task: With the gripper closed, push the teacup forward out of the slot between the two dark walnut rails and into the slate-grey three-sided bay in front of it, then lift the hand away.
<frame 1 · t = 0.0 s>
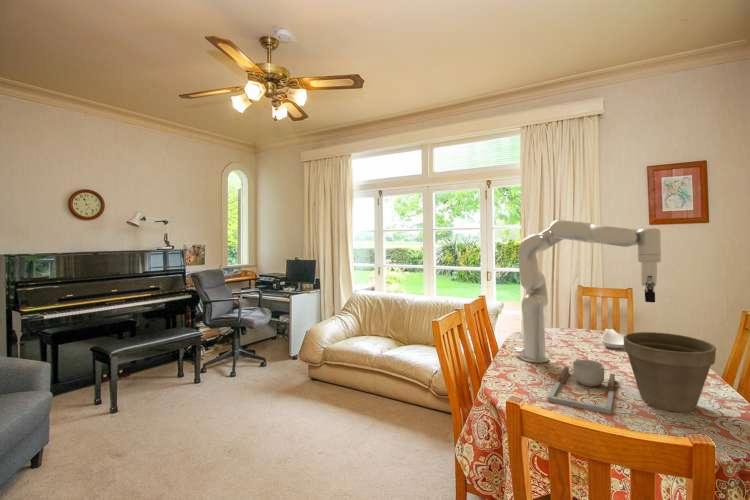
hand: (649, 300, 152), 31 cm above the table, tool pointing down, fingers open, 9 cm apart
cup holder: (586, 381, 148), on the table
plant pot: (667, 404, 127), on the table
teacup: (586, 382, 148), on the table
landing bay: (581, 398, 133), on the table
white sneaker: (611, 345, 199), on the table
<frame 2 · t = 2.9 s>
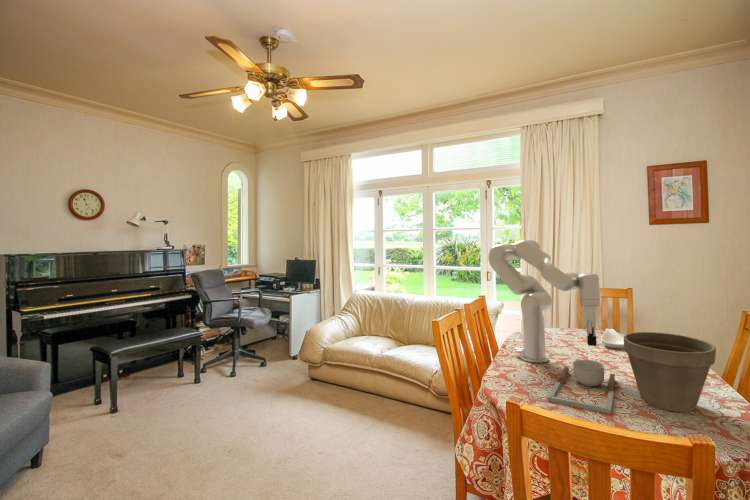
hand: (592, 345, 159), 12 cm above the table, tool pointing down, fingers closed
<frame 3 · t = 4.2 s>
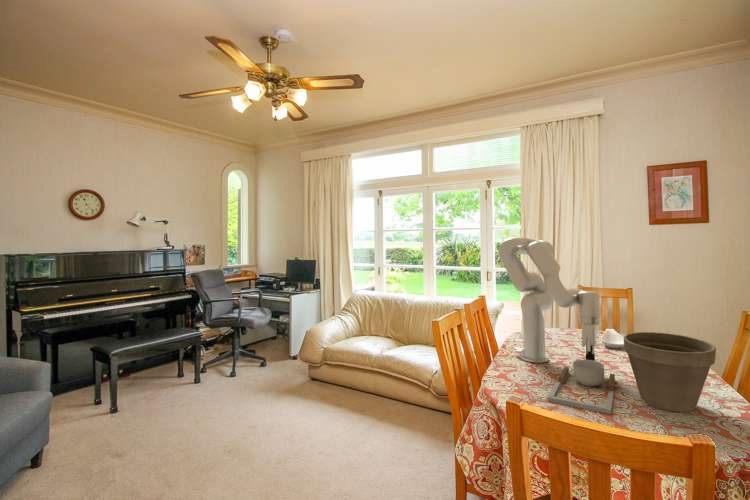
hand: (590, 362, 159), 4 cm above the table, tool pointing down, fingers closed
nothing on the table moved.
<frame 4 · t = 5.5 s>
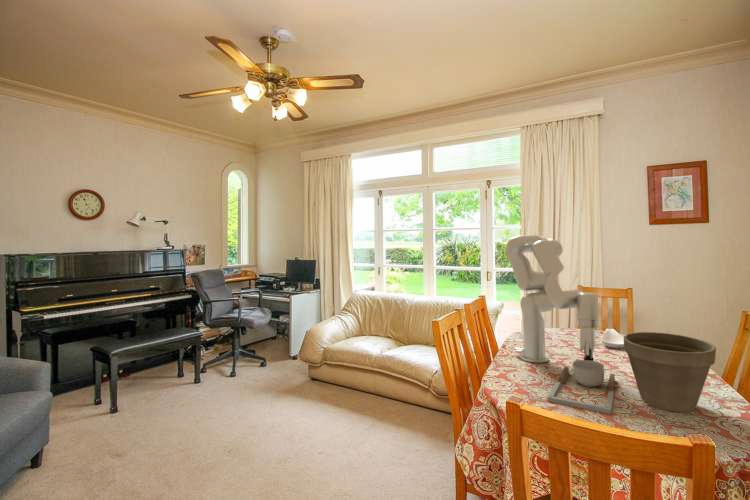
hand: (588, 367, 153), 4 cm above the table, tool pointing down, fingers closed
teacup: (586, 382, 148), on the table, touching gripper
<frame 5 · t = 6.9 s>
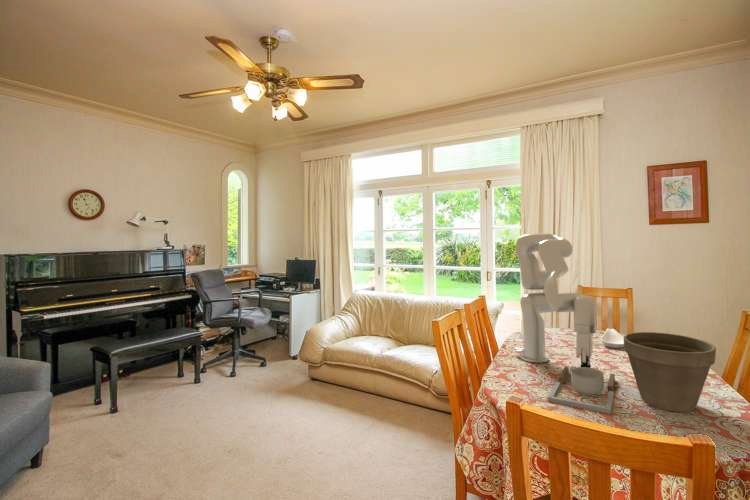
hand: (585, 374, 145), 4 cm above the table, tool pointing down, fingers closed
teacup: (584, 391, 139), on the table, touching gripper
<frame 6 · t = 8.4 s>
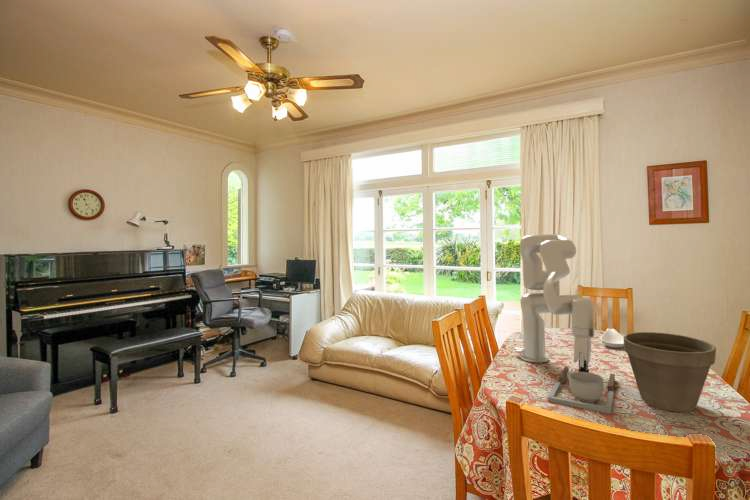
hand: (583, 379, 140), 4 cm above the table, tool pointing down, fingers closed
teacup: (583, 397, 134), on the table, touching gripper
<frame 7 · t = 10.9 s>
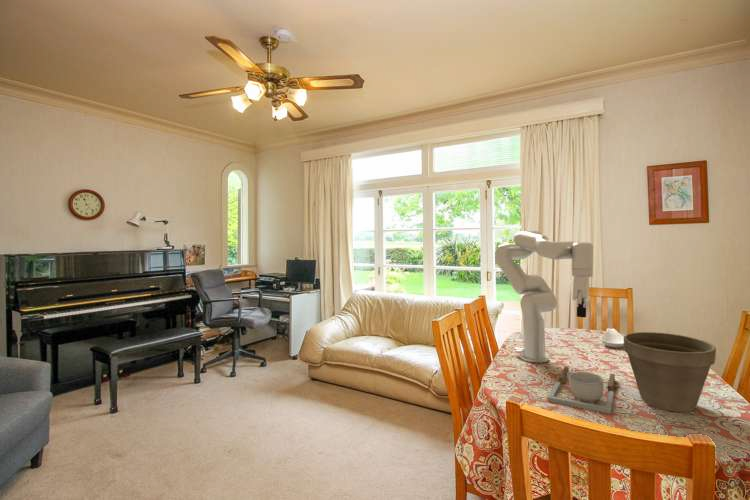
hand: (581, 316, 153), 25 cm above the table, tool pointing down, fingers closed
teacup: (583, 397, 134), on the table
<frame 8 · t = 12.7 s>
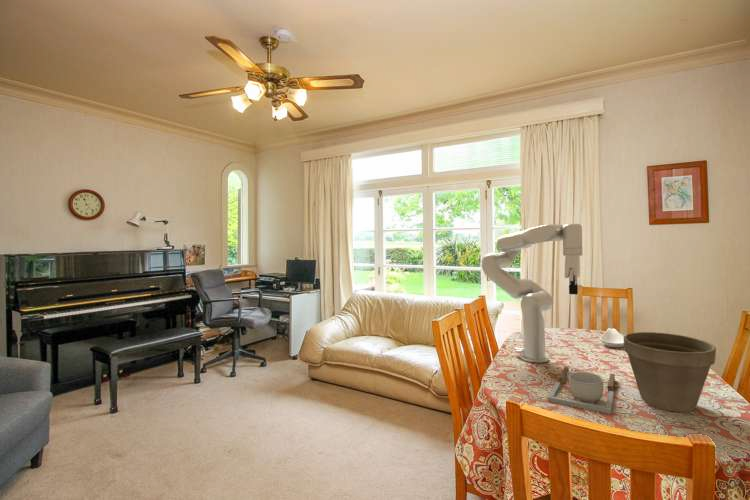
hand: (573, 293, 162), 33 cm above the table, tool pointing down, fingers closed
at the end: teacup inside the target area on the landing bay (2.1 cm from its centre), point 0.0 cm above the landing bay's base; teacup tilted 0°; teacup moved 16.5 cm from its start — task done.
